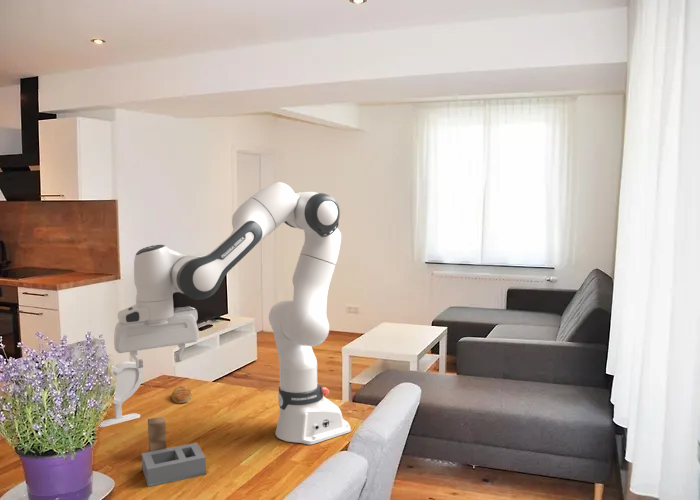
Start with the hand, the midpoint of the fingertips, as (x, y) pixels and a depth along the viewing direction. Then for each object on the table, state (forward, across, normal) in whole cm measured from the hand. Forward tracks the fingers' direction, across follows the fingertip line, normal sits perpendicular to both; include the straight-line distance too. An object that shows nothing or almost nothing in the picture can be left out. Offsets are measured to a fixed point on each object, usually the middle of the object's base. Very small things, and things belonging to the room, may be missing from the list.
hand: (159, 364), depth 151 cm
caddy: (+29, -2, 0) cm, 29 cm away
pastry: (+28, -15, -54) cm, 62 cm away
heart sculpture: (+28, +6, -44) cm, 52 cm away
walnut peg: (+28, 0, -12) cm, 31 cm away
